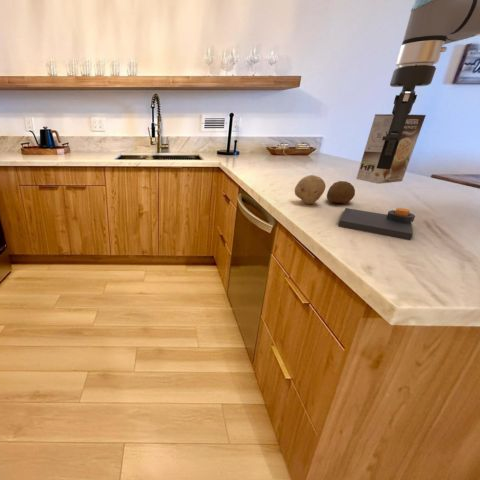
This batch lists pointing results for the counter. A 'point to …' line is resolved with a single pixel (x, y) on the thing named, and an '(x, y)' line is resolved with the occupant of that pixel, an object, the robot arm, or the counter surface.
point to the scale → (378, 223)
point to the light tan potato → (310, 189)
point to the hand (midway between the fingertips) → (383, 165)
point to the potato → (341, 192)
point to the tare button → (402, 211)
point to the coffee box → (375, 146)
